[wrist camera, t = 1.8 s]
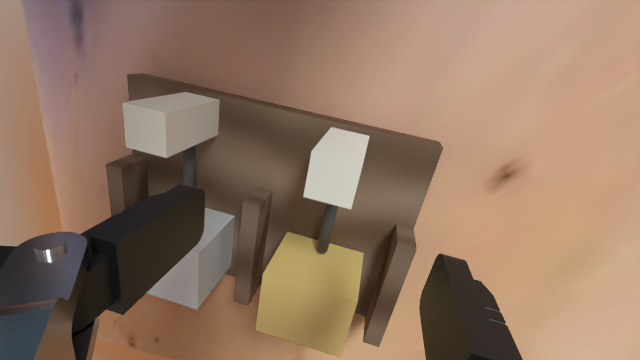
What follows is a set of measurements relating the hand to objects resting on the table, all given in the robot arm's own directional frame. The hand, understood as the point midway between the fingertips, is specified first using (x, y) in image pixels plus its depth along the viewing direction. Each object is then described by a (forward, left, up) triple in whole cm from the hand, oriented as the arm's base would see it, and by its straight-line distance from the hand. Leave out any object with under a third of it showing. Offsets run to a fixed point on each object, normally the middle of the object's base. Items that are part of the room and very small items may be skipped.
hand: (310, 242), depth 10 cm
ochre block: (+5, 0, -11) cm, 12 cm away
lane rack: (+6, -5, -12) cm, 15 cm away
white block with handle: (+5, -11, -11) cm, 16 cm away
